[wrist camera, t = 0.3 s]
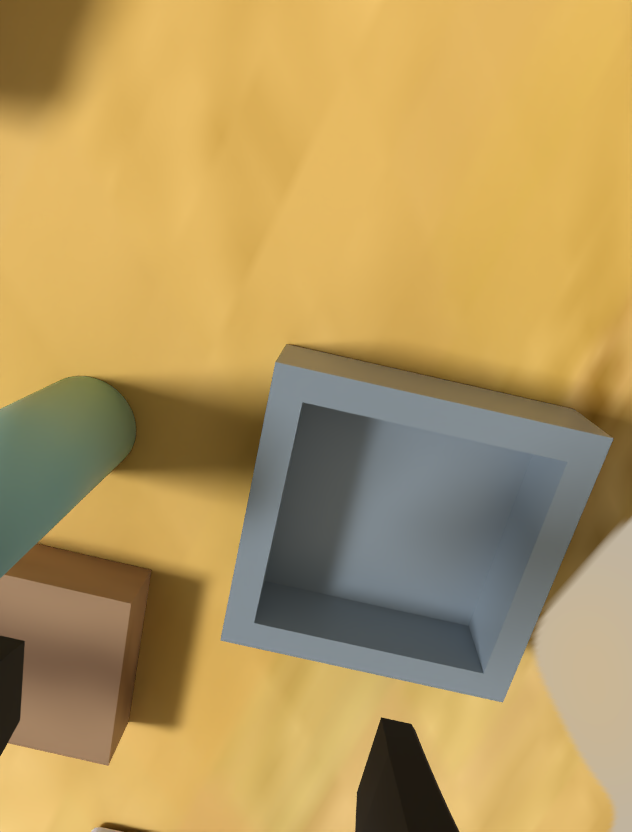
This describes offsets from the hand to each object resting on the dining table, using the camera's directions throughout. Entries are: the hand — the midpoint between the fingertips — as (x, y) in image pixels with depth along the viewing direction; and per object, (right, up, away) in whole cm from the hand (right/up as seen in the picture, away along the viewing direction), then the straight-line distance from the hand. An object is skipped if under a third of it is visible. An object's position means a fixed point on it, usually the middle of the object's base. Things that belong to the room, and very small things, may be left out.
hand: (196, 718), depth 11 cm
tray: (+5, +3, +9) cm, 11 cm away
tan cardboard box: (-8, -3, +12) cm, 15 cm away
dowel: (-6, +6, +9) cm, 12 cm away
